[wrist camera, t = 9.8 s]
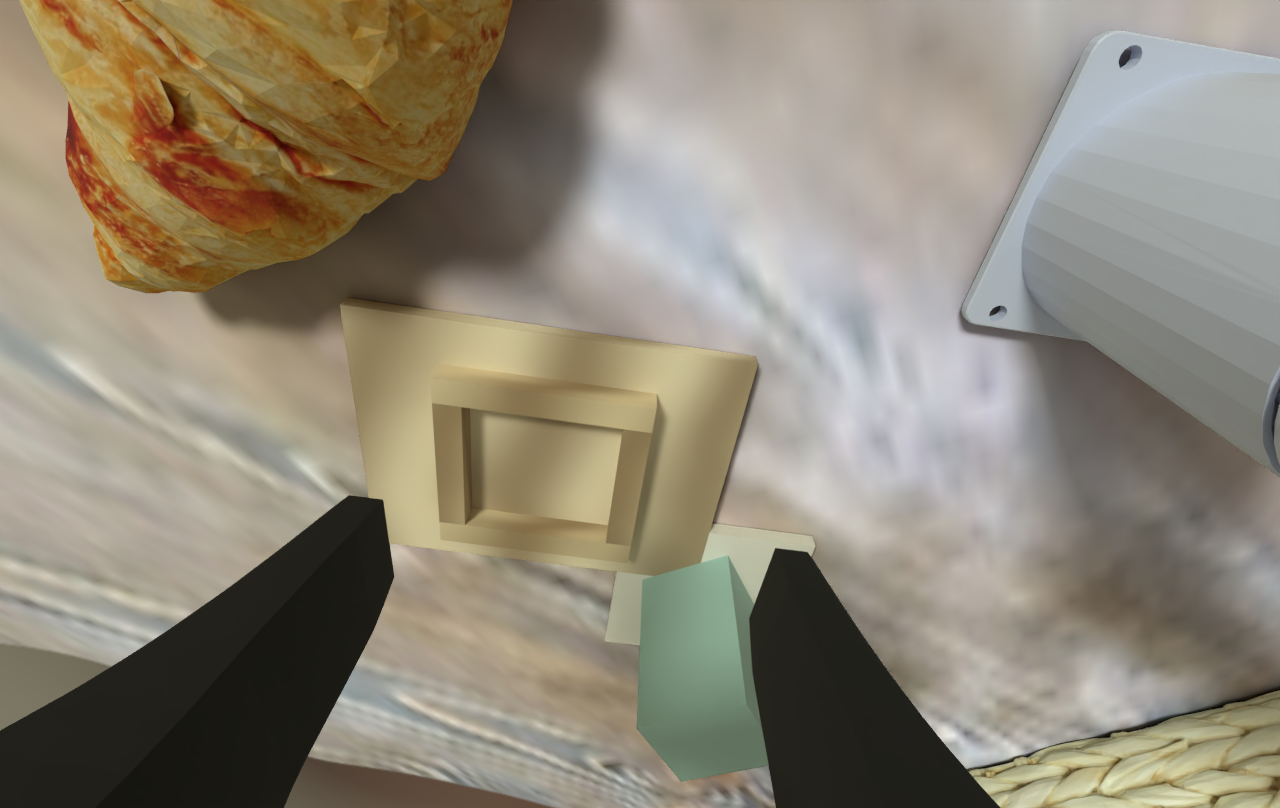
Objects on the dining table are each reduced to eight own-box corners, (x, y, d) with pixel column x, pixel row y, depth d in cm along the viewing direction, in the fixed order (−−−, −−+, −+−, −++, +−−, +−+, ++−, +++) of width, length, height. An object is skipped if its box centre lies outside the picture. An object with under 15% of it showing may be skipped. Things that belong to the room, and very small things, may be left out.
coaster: (812, 536, 24) (815, 546, 24) (764, 649, 29) (765, 660, 28) (626, 512, 24) (625, 522, 23) (605, 630, 28) (604, 641, 28)
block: (727, 555, 24) (746, 704, 19) (758, 611, 26) (783, 762, 21) (642, 579, 25) (636, 728, 20) (677, 632, 27) (681, 781, 22)
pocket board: (755, 356, 20) (762, 379, 18) (694, 570, 26) (696, 599, 24) (348, 297, 19) (324, 317, 18) (381, 531, 25) (365, 559, 24)
